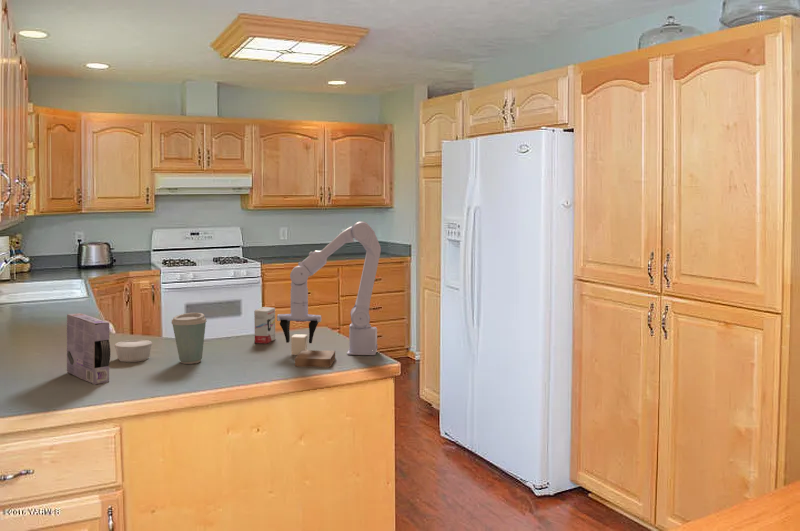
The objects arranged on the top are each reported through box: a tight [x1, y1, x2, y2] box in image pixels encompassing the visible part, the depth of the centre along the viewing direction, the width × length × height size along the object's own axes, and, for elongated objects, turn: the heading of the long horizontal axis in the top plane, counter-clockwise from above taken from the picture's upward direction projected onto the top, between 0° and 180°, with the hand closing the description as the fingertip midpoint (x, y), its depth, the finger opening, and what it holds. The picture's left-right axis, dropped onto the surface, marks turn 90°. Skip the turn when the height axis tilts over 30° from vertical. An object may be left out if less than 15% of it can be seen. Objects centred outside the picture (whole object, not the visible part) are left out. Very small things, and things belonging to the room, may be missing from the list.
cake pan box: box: [66, 312, 111, 386], centre depth 201 cm, size 19×5×18 cm, turn 48°
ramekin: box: [114, 339, 153, 363], centre depth 224 cm, size 11×11×5 cm
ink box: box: [254, 306, 276, 345], centre depth 251 cm, size 9×5×12 cm, turn 168°
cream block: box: [290, 333, 308, 356], centre depth 234 cm, size 4×4×6 cm
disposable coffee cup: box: [171, 312, 207, 365], centre depth 220 cm, size 11×11×15 cm
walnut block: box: [294, 349, 336, 368], centre depth 222 cm, size 11×11×3 cm
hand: (299, 342), depth 234 cm, fingers open, 7 cm apart
